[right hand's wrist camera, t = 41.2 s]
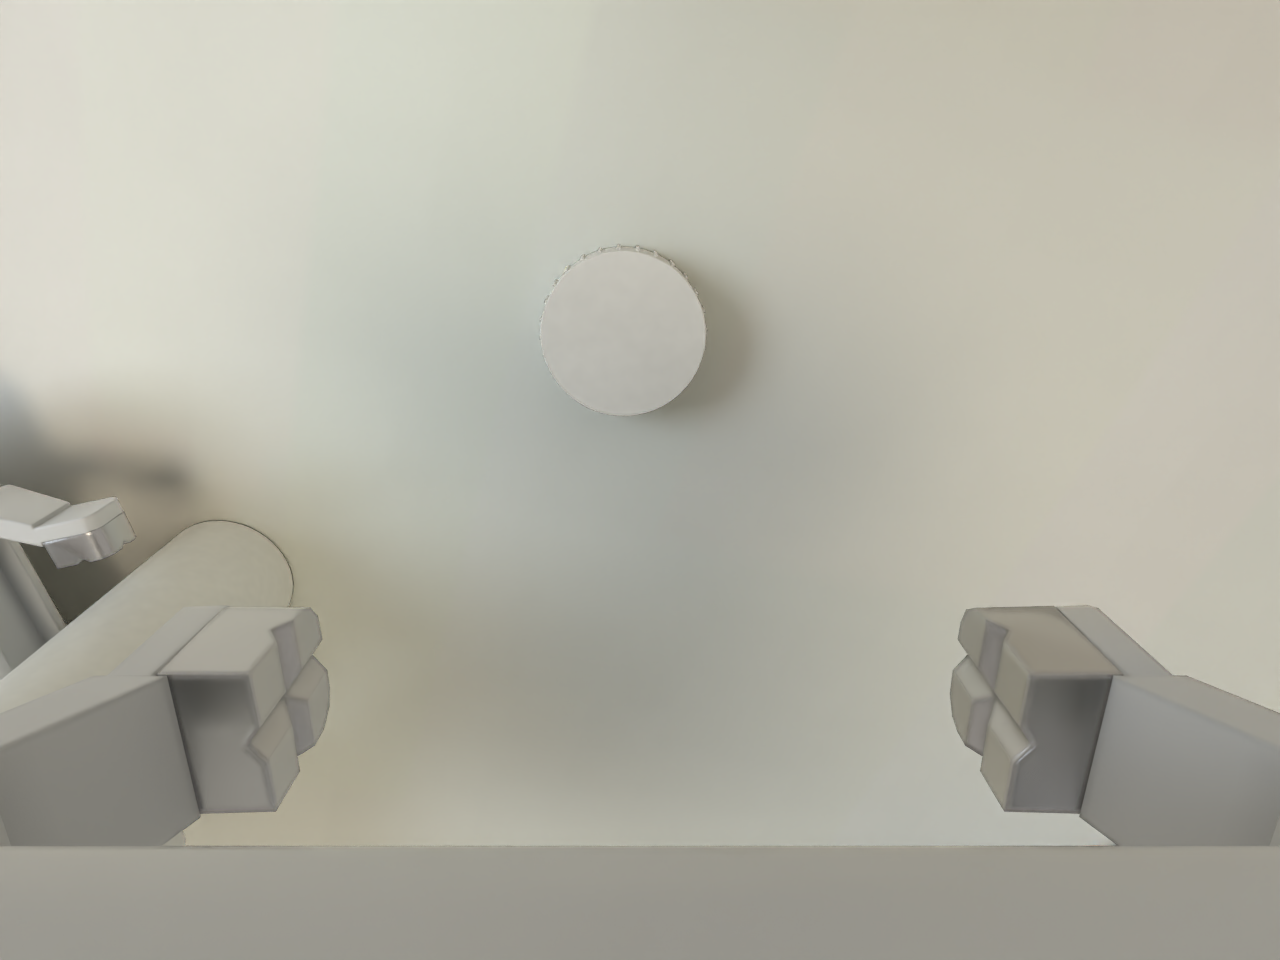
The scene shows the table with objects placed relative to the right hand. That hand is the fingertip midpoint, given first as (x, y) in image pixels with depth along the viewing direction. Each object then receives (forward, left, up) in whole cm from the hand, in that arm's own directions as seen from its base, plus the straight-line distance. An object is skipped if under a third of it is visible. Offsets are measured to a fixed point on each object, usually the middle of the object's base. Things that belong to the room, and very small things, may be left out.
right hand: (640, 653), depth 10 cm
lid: (0, 0, -19) cm, 19 cm away
